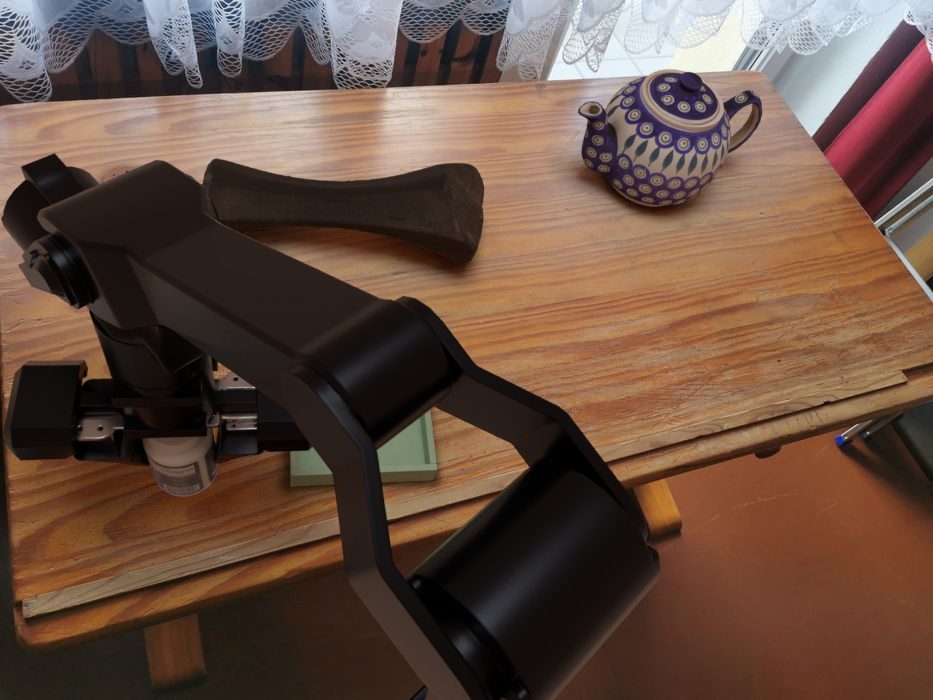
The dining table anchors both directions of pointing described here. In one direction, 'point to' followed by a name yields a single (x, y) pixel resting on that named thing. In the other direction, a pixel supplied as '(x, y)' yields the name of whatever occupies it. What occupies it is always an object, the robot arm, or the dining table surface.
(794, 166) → the dining table surface
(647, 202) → the teapot
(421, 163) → the dining table surface
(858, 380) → the dining table surface
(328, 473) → the tray
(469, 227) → the dark brown bone
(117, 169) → the cookie
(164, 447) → the pill bottle
